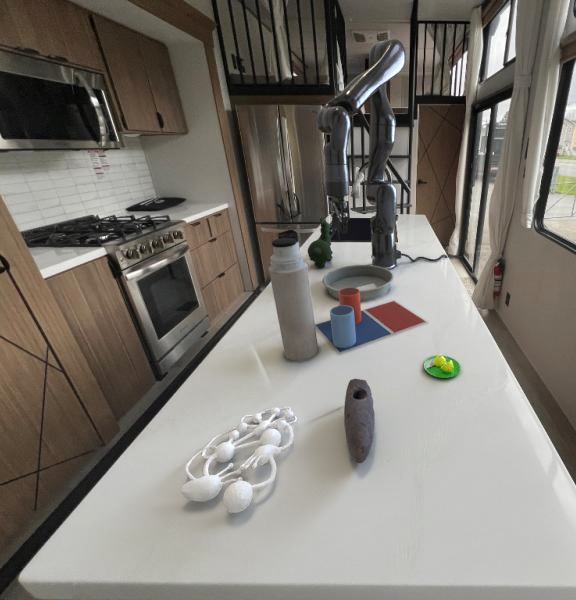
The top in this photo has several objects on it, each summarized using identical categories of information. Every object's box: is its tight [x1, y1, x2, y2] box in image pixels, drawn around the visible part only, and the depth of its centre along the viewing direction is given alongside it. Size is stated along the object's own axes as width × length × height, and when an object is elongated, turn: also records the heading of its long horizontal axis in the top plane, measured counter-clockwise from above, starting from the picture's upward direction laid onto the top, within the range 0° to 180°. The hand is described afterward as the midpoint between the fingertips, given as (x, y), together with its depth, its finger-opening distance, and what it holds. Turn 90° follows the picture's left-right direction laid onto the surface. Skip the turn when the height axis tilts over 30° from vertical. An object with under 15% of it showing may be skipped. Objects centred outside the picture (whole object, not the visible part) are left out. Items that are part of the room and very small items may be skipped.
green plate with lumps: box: [423, 354, 461, 379], centre depth 72 cm, size 8×8×3 cm
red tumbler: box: [338, 287, 362, 325], centre depth 90 cm, size 6×6×9 cm
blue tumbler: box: [329, 304, 356, 348], centre depth 80 cm, size 6×6×9 cm
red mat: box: [365, 300, 426, 333], centre depth 94 cm, size 10×16×1 cm, turn 32°
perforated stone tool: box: [343, 378, 375, 465], centre depth 55 cm, size 15×5×7 cm, turn 3°
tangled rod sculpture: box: [180, 406, 298, 514], centre depth 52 cm, size 19×14×4 cm
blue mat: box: [315, 310, 392, 353], centre depth 88 cm, size 15×16×1 cm
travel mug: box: [277, 229, 301, 253], centre depth 111 cm, size 6×7×20 cm
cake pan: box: [322, 264, 395, 302], centre depth 112 cm, size 25×25×4 cm
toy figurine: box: [307, 216, 334, 269], centre depth 136 cm, size 9×19×25 cm
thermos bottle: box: [268, 238, 319, 361], centre depth 73 cm, size 8×8×28 cm
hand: (339, 230), depth 109 cm, fingers open, 8 cm apart
